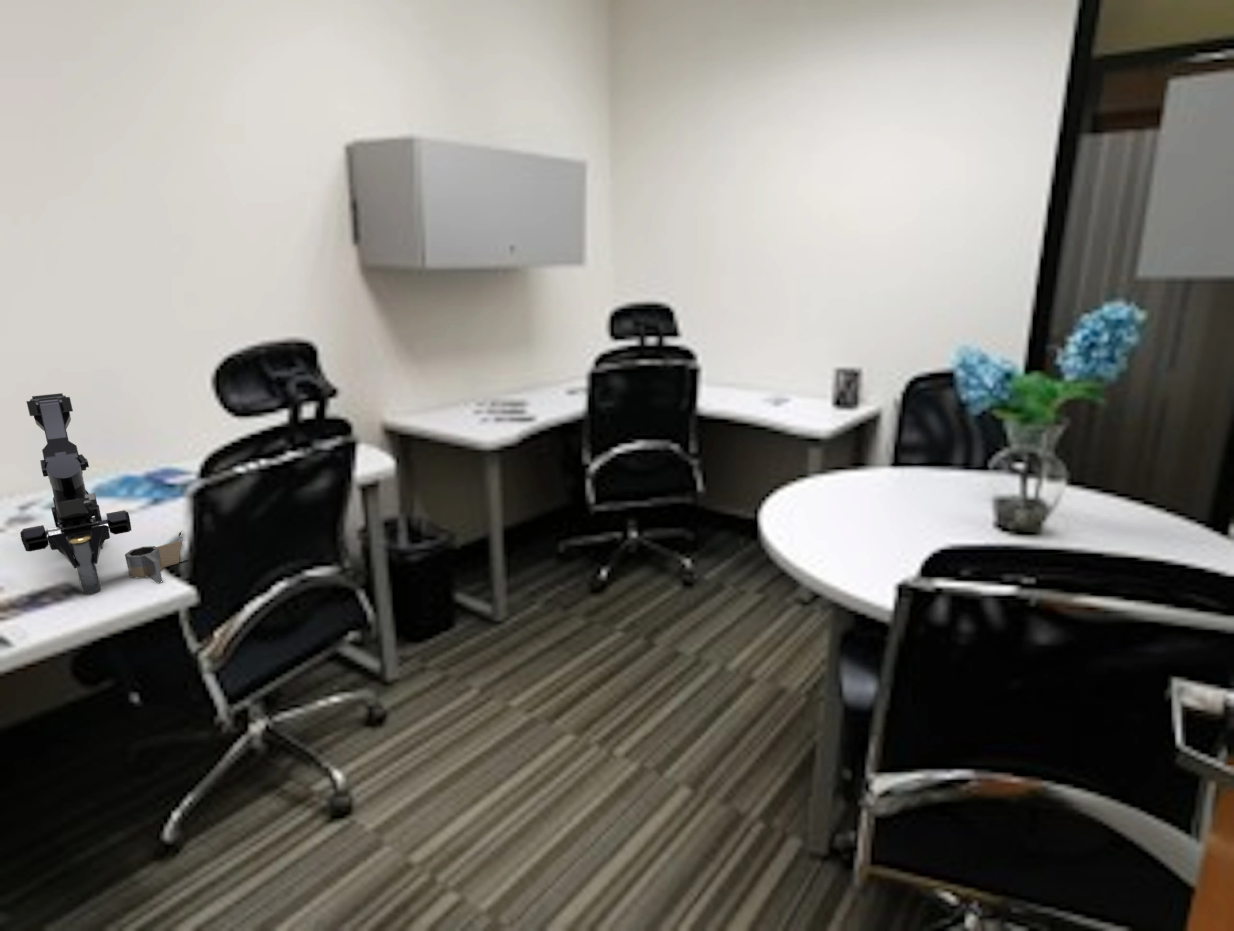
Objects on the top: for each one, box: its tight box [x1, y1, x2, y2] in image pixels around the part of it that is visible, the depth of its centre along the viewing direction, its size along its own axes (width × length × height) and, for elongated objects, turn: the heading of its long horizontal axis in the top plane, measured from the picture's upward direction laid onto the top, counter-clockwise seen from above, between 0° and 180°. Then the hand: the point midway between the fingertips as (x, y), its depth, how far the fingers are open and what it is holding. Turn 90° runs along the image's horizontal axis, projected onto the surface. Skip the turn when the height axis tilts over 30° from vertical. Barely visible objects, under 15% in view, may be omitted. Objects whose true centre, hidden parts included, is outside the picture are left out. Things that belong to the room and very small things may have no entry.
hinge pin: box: [68, 534, 102, 596], centre depth 155 cm, size 4×4×12 cm
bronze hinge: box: [124, 539, 184, 583], centre depth 165 cm, size 12×12×5 cm
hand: (85, 565), depth 154 cm, fingers closed on hinge pin, 3 cm apart
